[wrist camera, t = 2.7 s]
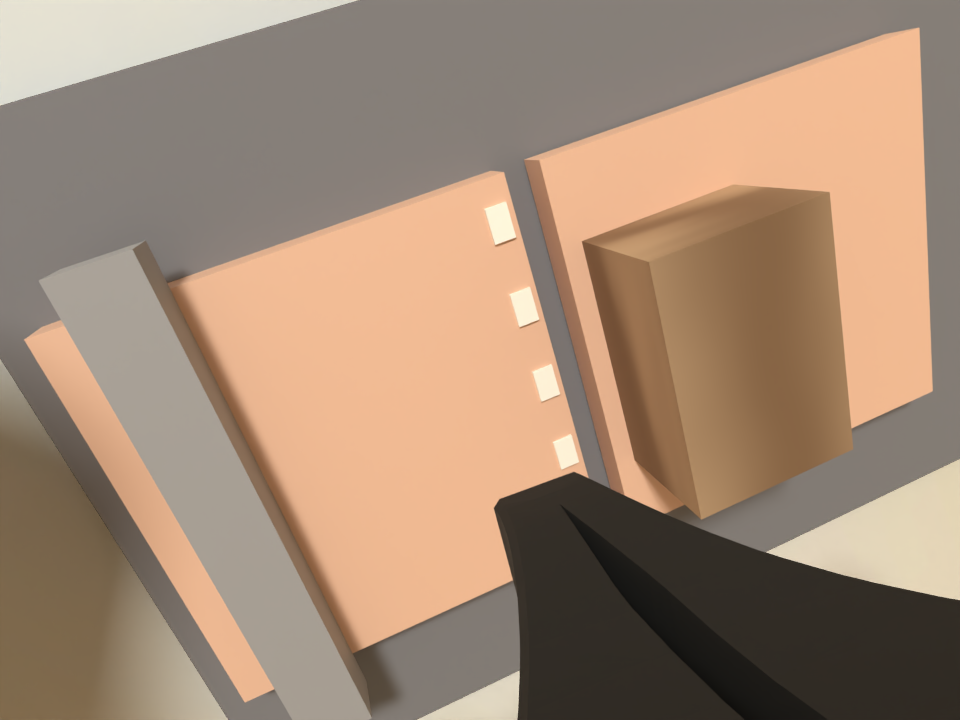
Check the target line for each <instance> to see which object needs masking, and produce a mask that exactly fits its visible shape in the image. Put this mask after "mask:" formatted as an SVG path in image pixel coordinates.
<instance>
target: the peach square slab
mask: <svg viewBox="0 0 960 720" xmlns="http://www.w3.org/2000/svg"><path fill="white" fill-rule="evenodd" d="M524 162H525V166H526V170H527V173H528V177H529V181H530V185H531V189H532V192H533V196H534V200H535V204H536V208H537V211H538V215H539V219H540V223H541V227H542V230H543V234H544V238H545V242H546V246H547V249H548V253H549V257H550V261H551V265H552V268H553V272H554V276H555V280H556V283H557V287H558V291H559V295H560V299H561V302H562V306H563V310H564V314H565V318H566V321H567V325H568V329H569V333H570V337H571V340H572V344H573V348H574V352H575V356H576V359H577V363H578V367H579V371H580V375H581V378H582V382H583V386H584V390H585V393H586V397H587V401H588V405H589V409H590V412H591V416H592V420H593V424H594V428H595V431H596V435H597V439H598V443H599V447H600V450H601V454H602V458H603V462H604V466H605V469H606V473H607V477H608V481H609V485H610V488H611V489H612V490H614V491H616V492H619V493H621V494H623V495H625V496H627V497H629V498H631V499H633V500H636V501H638V502H640V503H642V504H644V505H646V506H649V507H651V508H653V509H655V510H657V511H660V512H662V513H664V514H665V513H668V512H670V511H672V510H674V509H676V508H678V507H681V506H683V505H686V506H687V507H688V508H689V509H690V510H691V511H692V512H694V513H695V514H696V515H697V516H698V517H699V518H700V519H701V520H702V519H704V518H706V517H708V516H710V515H713V514H715V513H717V512H719V511H721V510H723V509H726V508H728V507H730V506H732V505H734V504H736V503H739V502H741V501H743V500H745V499H747V498H749V497H751V496H754V495H756V494H758V493H760V492H762V491H764V490H767V489H769V488H771V487H773V486H775V485H777V484H780V483H782V482H784V481H786V480H788V479H790V478H792V477H795V476H797V475H799V474H801V473H803V472H805V471H808V470H810V469H812V468H814V467H816V466H818V465H821V464H823V463H825V462H827V461H829V460H831V459H834V458H836V457H838V456H840V455H842V454H844V453H846V452H849V451H851V450H853V440H852V429H851V428H854V427H856V426H858V425H860V424H862V423H864V422H867V421H869V420H871V419H873V418H875V417H878V416H880V415H882V414H884V413H886V412H889V411H891V410H893V409H895V408H897V407H900V406H902V405H904V404H906V403H908V402H910V401H913V400H915V399H917V398H919V397H921V396H924V395H926V394H928V393H930V392H932V391H933V384H932V357H931V330H930V302H929V275H928V248H927V221H926V194H925V166H924V139H923V112H922V85H921V58H920V30H919V28H914V29H909V30H904V31H899V32H893V33H888V34H884V35H881V36H878V37H875V38H872V39H869V40H866V41H863V42H861V43H858V44H855V45H852V46H849V47H846V48H843V49H840V50H838V51H835V52H832V53H829V54H826V55H823V56H820V57H818V58H815V59H812V60H809V61H806V62H803V63H800V64H797V65H795V66H792V67H789V68H786V69H783V70H780V71H777V72H774V73H772V74H769V75H766V76H763V77H760V78H757V79H754V80H751V81H749V82H746V83H743V84H740V85H737V86H734V87H731V88H728V89H726V90H723V91H720V92H717V93H714V94H711V95H708V96H705V97H703V98H700V99H697V100H694V101H691V102H688V103H685V104H682V105H680V106H677V107H674V108H671V109H668V110H665V111H662V112H659V113H657V114H654V115H651V116H648V117H645V118H642V119H639V120H636V121H634V122H631V123H628V124H625V125H622V126H619V127H616V128H613V129H611V130H608V131H605V132H602V133H599V134H596V135H593V136H591V137H588V138H585V139H582V140H579V141H576V142H573V143H570V144H568V145H565V146H562V147H559V148H556V149H553V150H550V151H547V152H545V153H542V154H539V155H536V156H533V157H530V158H527V159H524Z"/></svg>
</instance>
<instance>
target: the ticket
mask: <svg viewBox="0 0 960 720" xmlns="http://www.w3.org/2000/svg"><path fill="white" fill-rule="evenodd" d="M39 283H40V284H41V286H42V288H43V290H44V291H45V293H46V295H47V297H48V298H49V300H50V302H51V303H52V305H53V307H54V309H55V310H56V312H57V314H58V316H59V317H60V319H61V320H60V321H57V322H54V323H51V324H48V325H46V326H43V327H41V328H40V329H38V330H37V331H35V332H34V333H33V334H31V335H30V336H29V337H27V338H26V339H24V341H25V342H26V344H27V345H28V347H29V349H30V350H31V352H32V354H33V355H34V357H35V359H36V360H37V362H38V364H39V365H40V367H41V368H42V370H43V372H44V373H45V375H46V377H47V378H48V380H49V382H50V383H51V385H52V387H53V388H54V390H55V391H56V393H57V395H58V396H59V398H60V400H61V401H62V403H63V405H64V406H65V408H66V410H67V411H68V413H69V414H70V416H71V418H72V419H73V421H74V423H75V424H76V426H77V428H78V429H79V431H80V433H81V434H82V436H83V437H84V439H85V441H86V442H87V444H88V446H89V447H90V449H91V451H92V452H93V454H94V455H95V457H96V459H97V460H98V462H99V464H100V465H101V467H102V469H103V470H104V472H105V474H106V475H107V477H108V478H109V480H110V482H111V483H112V485H113V487H114V488H115V490H116V492H117V493H118V495H119V497H120V498H121V500H122V501H123V503H124V505H125V506H126V508H127V510H128V511H129V513H130V515H131V516H132V518H133V520H134V521H135V523H136V524H137V526H138V528H139V529H140V531H141V533H142V534H143V536H144V538H145V539H146V541H147V543H148V544H149V546H150V547H151V549H152V551H153V552H154V554H155V556H156V557H157V559H158V561H159V562H160V564H161V566H162V567H163V569H164V570H165V572H166V574H167V575H168V577H169V579H170V580H171V582H172V584H173V585H174V587H175V589H176V590H177V592H178V593H179V595H180V597H181V598H182V600H183V602H184V603H185V605H186V607H187V608H188V610H189V612H190V613H191V615H192V616H193V618H194V620H195V621H196V623H197V625H198V626H199V628H200V630H201V631H202V633H203V635H204V636H205V638H206V639H207V641H208V643H209V644H210V646H211V648H212V649H213V651H214V653H215V654H216V656H217V658H218V659H219V661H220V662H221V664H222V666H223V667H224V669H225V671H226V672H227V674H228V676H229V677H230V679H231V681H232V682H233V684H234V685H235V687H236V689H237V690H238V692H239V694H240V695H241V697H242V699H243V700H244V702H247V701H249V700H252V699H254V698H256V697H258V696H260V695H263V694H265V693H267V692H269V691H271V690H274V689H275V691H276V693H277V694H278V696H279V698H280V700H281V701H282V703H283V705H284V706H285V708H286V710H287V712H288V713H289V715H290V717H291V719H292V720H369V719H371V718H372V715H371V708H370V701H369V695H368V688H367V681H366V679H365V677H364V675H363V673H362V671H361V669H360V667H359V665H358V663H357V661H356V659H355V657H354V655H353V653H355V652H357V651H359V650H361V649H363V648H366V647H368V646H370V645H372V644H374V643H377V642H379V641H381V640H383V639H385V638H388V637H390V636H392V635H394V634H396V633H398V632H401V631H403V630H405V629H407V628H409V627H412V626H414V625H416V624H418V623H420V622H423V621H425V620H427V619H429V618H431V617H434V616H436V615H438V614H440V613H442V612H445V611H447V610H449V609H451V608H453V607H455V606H458V605H460V604H462V603H464V602H466V601H469V600H471V599H473V598H475V597H477V596H480V595H482V594H484V593H486V592H488V591H491V590H493V589H495V588H497V587H499V586H502V585H504V584H506V583H508V582H510V581H512V580H513V578H512V575H511V571H510V567H509V563H508V560H507V556H506V552H505V548H504V545H503V541H502V537H501V534H500V530H499V526H498V522H497V519H496V515H495V511H494V507H495V505H496V504H497V502H498V500H499V499H501V498H504V497H506V496H509V495H512V494H515V493H517V492H520V491H523V490H525V489H528V488H531V487H534V486H536V485H539V484H542V483H544V482H547V481H550V480H553V479H555V478H558V477H561V476H563V475H566V474H569V473H572V472H576V473H578V474H581V475H583V476H585V477H587V478H588V474H587V471H586V467H585V463H584V460H583V456H582V452H581V449H580V445H579V442H578V438H577V434H576V431H575V427H574V424H573V420H572V416H571V413H570V409H569V405H568V402H567V398H566V395H565V391H564V387H563V384H562V380H561V377H560V373H559V369H558V366H557V362H556V359H555V355H554V351H553V348H552V344H551V340H550V337H549V333H548V330H547V326H546V322H545V319H544V315H543V312H542V308H541V304H540V301H539V297H538V294H537V290H536V286H535V283H534V279H533V275H532V272H531V268H530V265H529V261H528V257H527V254H526V250H525V247H524V243H523V239H522V236H521V232H520V228H519V225H518V221H517V218H516V214H515V210H514V207H513V203H512V200H511V196H510V192H509V189H508V185H507V182H506V178H505V174H504V172H498V171H488V172H485V173H483V174H480V175H477V176H474V177H471V178H468V179H465V180H462V181H460V182H457V183H454V184H451V185H448V186H445V187H442V188H439V189H437V190H434V191H431V192H428V193H425V194H422V195H419V196H416V197H414V198H411V199H408V200H405V201H402V202H399V203H396V204H393V205H391V206H388V207H385V208H382V209H379V210H376V211H373V212H370V213H368V214H365V215H362V216H359V217H356V218H353V219H350V220H347V221H345V222H342V223H339V224H336V225H333V226H330V227H327V228H324V229H322V230H319V231H316V232H313V233H310V234H307V235H304V236H301V237H299V238H296V239H293V240H290V241H287V242H284V243H281V244H278V245H276V246H273V247H270V248H267V249H264V250H261V251H258V252H255V253H253V254H250V255H247V256H244V257H241V258H238V259H235V260H232V261H230V262H227V263H224V264H221V265H218V266H215V267H212V268H209V269H207V270H204V271H201V272H198V273H195V274H192V275H189V276H186V277H184V278H181V279H178V280H175V281H172V282H169V283H167V282H166V280H165V278H164V276H163V274H162V272H161V270H160V268H159V266H158V264H157V262H156V260H155V258H154V256H153V254H152V252H151V250H150V248H149V246H148V244H147V242H146V241H143V242H140V243H137V244H134V245H131V246H128V247H125V248H122V249H119V250H116V251H113V252H110V253H107V254H104V255H101V256H98V257H95V258H92V259H89V260H86V261H83V262H80V263H77V264H74V265H71V266H68V267H65V268H62V269H60V270H58V271H56V272H54V273H52V274H50V275H48V276H47V277H45V278H43V279H41V280H39Z"/></svg>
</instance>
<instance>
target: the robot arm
mask: <svg viewBox="0 0 960 720" xmlns="http://www.w3.org/2000/svg"><path fill="white" fill-rule="evenodd" d="M494 511H495V515H496V519H497V522H498V526H499V530H500V534H501V537H502V541H503V545H504V548H505V552H506V556H507V560H508V563H509V567H510V571H511V575H512V578H513V582H514V586H515V590H516V593H517V597H518V614H519V634H520V684H519V708H518V720H960V600H955V599H949V598H944V597H938V596H934V595H929V594H924V593H920V592H915V591H910V590H906V589H901V588H896V587H891V586H887V585H882V584H877V583H873V582H869V581H865V580H861V579H857V578H853V577H849V576H844V575H841V574H837V573H833V572H830V571H826V570H823V569H819V568H816V567H812V566H809V565H805V564H802V563H798V562H795V561H791V560H788V559H784V558H781V557H778V556H775V555H772V554H769V553H766V552H763V551H760V550H757V549H754V548H751V547H748V546H746V545H743V544H740V543H737V542H735V541H732V540H729V539H726V538H724V537H721V536H718V535H716V534H713V533H710V532H708V531H705V530H703V529H700V528H698V527H695V526H693V525H690V524H688V523H685V522H683V521H681V520H678V519H676V518H673V517H671V516H669V515H667V514H664V513H662V512H660V511H657V510H655V509H653V508H651V507H649V506H646V505H644V504H642V503H640V502H638V501H636V500H633V499H631V498H629V497H627V496H625V495H623V494H621V493H619V492H616V491H614V490H612V489H610V488H608V487H606V486H604V485H602V484H600V483H598V482H596V481H593V480H591V479H589V478H587V477H585V476H583V475H581V474H578V473H576V472H572V473H569V474H566V475H563V476H561V477H558V478H555V479H553V480H550V481H547V482H544V483H542V484H539V485H536V486H534V487H531V488H528V489H525V490H523V491H520V492H517V493H515V494H512V495H509V496H506V497H504V498H501V499H499V500H498V502H497V504H496V505H495V507H494Z"/></svg>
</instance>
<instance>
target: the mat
mask: <svg viewBox="0 0 960 720" xmlns="http://www.w3.org/2000/svg"><path fill="white" fill-rule="evenodd" d="M914 28H919V30H920V58H921V85H922V112H923V139H924V166H925V194H926V221H927V248H928V275H929V302H930V330H931V357H932V384H933V391H932V392H930V393H928V394H926V395H924V396H921V397H919V398H917V399H915V400H913V401H910V402H908V403H906V404H904V405H902V406H900V407H897V408H895V409H893V410H891V411H889V412H886V413H884V414H882V415H880V416H878V417H875V418H873V419H871V420H869V421H867V422H864V423H862V424H860V425H858V426H856V427H854V428H851V429H852V440H853V450H851V451H849V452H846V453H844V454H842V455H840V456H838V457H836V458H834V459H831V460H829V461H827V462H825V463H823V464H821V465H818V466H816V467H814V468H812V469H810V470H808V471H805V472H803V473H801V474H799V475H797V476H795V477H792V478H790V479H788V480H786V481H784V482H782V483H780V484H777V485H775V486H773V487H771V488H769V489H767V490H764V491H762V492H760V493H758V494H756V495H754V496H751V497H749V498H747V499H745V500H743V501H741V502H739V503H736V504H734V505H732V506H730V507H728V508H726V509H723V510H721V511H719V512H717V513H715V514H713V515H710V516H708V517H706V518H704V519H702V520H701V519H700V518H699V517H698V516H697V515H696V514H695V513H694V512H692V511H691V510H690V509H689V508H688V507H687V506H686V505H683V506H681V507H678V508H676V509H674V510H672V511H670V512H668V513H665V514H667V515H669V516H671V517H673V518H676V519H678V520H681V521H683V522H685V523H688V524H690V525H693V526H695V527H698V528H700V529H703V530H705V531H708V532H710V533H713V534H716V535H718V536H721V537H724V538H726V539H729V540H732V541H735V542H737V543H740V544H743V545H746V546H748V547H751V548H754V549H757V550H760V551H763V552H767V551H769V550H771V549H773V548H775V547H777V546H779V545H781V544H783V543H785V542H788V541H790V540H792V539H794V538H796V537H798V536H800V535H802V534H804V533H806V532H808V531H810V530H813V529H815V528H817V527H819V526H821V525H823V524H825V523H827V522H829V521H831V520H833V519H835V518H837V517H840V516H842V515H844V514H846V513H848V512H850V511H852V510H854V509H856V508H858V507H860V506H862V505H865V504H867V503H869V502H871V501H873V500H875V499H877V498H879V497H881V496H883V495H885V494H887V493H890V492H892V491H894V490H896V489H898V488H900V487H902V486H904V485H906V484H908V483H910V482H912V481H915V480H917V479H919V478H921V477H923V476H925V475H927V474H929V473H931V472H933V471H935V470H937V469H939V468H942V467H944V466H946V465H948V464H950V463H952V462H954V461H956V460H958V459H960V0H358V1H355V2H352V3H348V4H345V5H341V6H338V7H334V8H331V9H328V10H324V11H321V12H317V13H314V14H311V15H307V16H304V17H300V18H297V19H294V20H290V21H287V22H283V23H280V24H277V25H273V26H270V27H266V28H263V29H260V30H256V31H253V32H249V33H246V34H243V35H239V36H236V37H232V38H229V39H226V40H222V41H219V42H215V43H212V44H209V45H205V46H202V47H198V48H195V49H192V50H188V51H185V52H181V53H178V54H175V55H171V56H168V57H164V58H161V59H158V60H154V61H151V62H147V63H144V64H141V65H137V66H134V67H130V68H127V69H124V70H120V71H117V72H113V73H110V74H107V75H103V76H100V77H96V78H93V79H90V80H86V81H83V82H79V83H76V84H73V85H69V86H66V87H62V88H59V89H55V90H52V91H49V92H45V93H42V94H38V95H35V96H32V97H28V98H25V99H21V100H18V101H15V102H11V103H8V104H4V105H1V106H0V359H1V360H2V362H3V363H4V365H5V367H6V368H7V370H8V371H9V373H10V375H11V376H12V378H13V379H14V381H15V382H16V384H17V386H18V387H19V389H20V390H21V392H22V394H23V395H24V397H25V398H26V400H27V401H28V403H29V405H30V406H31V408H32V409H33V411H34V413H35V414H36V416H37V417H38V419H39V420H40V422H41V424H42V425H43V427H44V428H45V430H46V432H47V433H48V435H49V436H50V438H51V439H52V441H53V443H54V444H55V446H56V447H57V449H58V451H59V452H60V454H61V455H62V457H63V458H64V460H65V462H66V463H67V465H68V466H69V468H70V470H71V471H72V473H73V474H74V476H75V478H76V479H77V481H78V482H79V484H80V485H81V487H82V489H83V490H84V492H85V493H86V495H87V497H88V498H89V500H90V501H91V503H92V504H93V506H94V508H95V509H96V511H97V512H98V514H99V516H100V517H101V519H102V520H103V522H104V523H105V525H106V527H107V528H108V530H109V531H110V533H111V535H112V536H113V538H114V539H115V541H116V542H117V544H118V546H119V547H120V549H121V550H122V552H123V554H124V555H125V557H126V558H127V560H128V561H129V563H130V565H131V566H132V568H133V569H134V571H135V573H136V574H137V576H138V577H139V579H140V580H141V582H142V584H143V585H144V587H145V588H146V590H147V592H148V593H149V595H150V596H151V598H152V599H153V601H154V603H155V604H156V606H157V607H158V609H159V611H160V612H161V614H162V615H163V617H164V619H165V620H166V622H167V623H168V625H169V626H170V628H171V630H172V631H173V633H174V634H175V636H176V638H177V639H178V641H179V642H180V644H181V645H182V647H183V649H184V650H185V652H186V653H187V655H188V657H189V658H190V660H191V661H192V663H193V664H194V666H195V668H196V669H197V671H198V672H199V674H200V676H201V677H202V679H203V680H204V682H205V683H206V685H207V687H208V688H209V690H210V691H211V693H212V695H213V696H214V698H215V699H216V701H217V702H218V704H219V706H220V707H221V709H222V710H223V712H224V714H225V715H226V717H227V718H228V720H292V719H291V717H290V715H289V713H288V712H287V710H286V708H285V706H284V705H283V703H282V701H281V700H280V698H279V696H278V694H277V693H276V691H275V689H274V690H271V691H269V692H267V693H265V694H263V695H260V696H258V697H256V698H254V699H252V700H249V701H247V702H244V700H243V699H242V697H241V695H240V694H239V692H238V690H237V689H236V687H235V685H234V684H233V682H232V681H231V679H230V677H229V676H228V674H227V672H226V671H225V669H224V667H223V666H222V664H221V662H220V661H219V659H218V658H217V656H216V654H215V653H214V651H213V649H212V648H211V646H210V644H209V643H208V641H207V639H206V638H205V636H204V635H203V633H202V631H201V630H200V628H199V626H198V625H197V623H196V621H195V620H194V618H193V616H192V615H191V613H190V612H189V610H188V608H187V607H186V605H185V603H184V602H183V600H182V598H181V597H180V595H179V593H178V592H177V590H176V589H175V587H174V585H173V584H172V582H171V580H170V579H169V577H168V575H167V574H166V572H165V570H164V569H163V567H162V566H161V564H160V562H159V561H158V559H157V557H156V556H155V554H154V552H153V551H152V549H151V547H150V546H149V544H148V543H147V541H146V539H145V538H144V536H143V534H142V533H141V531H140V529H139V528H138V526H137V524H136V523H135V521H134V520H133V518H132V516H131V515H130V513H129V511H128V510H127V508H126V506H125V505H124V503H123V501H122V500H121V498H120V497H119V495H118V493H117V492H116V490H115V488H114V487H113V485H112V483H111V482H110V480H109V478H108V477H107V475H106V474H105V472H104V470H103V469H102V467H101V465H100V464H99V462H98V460H97V459H96V457H95V455H94V454H93V452H92V451H91V449H90V447H89V446H88V444H87V442H86V441H85V439H84V437H83V436H82V434H81V433H80V431H79V429H78V428H77V426H76V424H75V423H74V421H73V419H72V418H71V416H70V414H69V413H68V411H67V410H66V408H65V406H64V405H63V403H62V401H61V400H60V398H59V396H58V395H57V393H56V391H55V390H54V388H53V387H52V385H51V383H50V382H49V380H48V378H47V377H46V375H45V373H44V372H43V370H42V368H41V367H40V365H39V364H38V362H37V360H36V359H35V357H34V355H33V354H32V352H31V350H30V349H29V347H28V345H27V344H26V342H25V341H24V339H26V338H27V337H29V336H30V335H31V334H33V333H34V332H35V331H37V330H38V329H40V328H41V327H43V326H46V325H48V324H51V323H54V322H57V321H60V320H61V319H60V317H59V316H58V314H57V312H56V310H55V309H54V307H53V305H52V303H51V302H50V300H49V298H48V297H47V295H46V293H45V291H44V290H43V288H42V286H41V284H40V283H39V280H41V279H43V278H45V277H47V276H48V275H50V274H52V273H54V272H56V271H58V270H60V269H62V268H65V267H68V266H71V265H74V264H77V263H80V262H83V261H86V260H89V259H92V258H95V257H98V256H101V255H104V254H107V253H110V252H113V251H116V250H119V249H122V248H125V247H128V246H131V245H134V244H137V243H140V242H143V241H146V242H147V244H148V246H149V248H150V250H151V252H152V254H153V256H154V258H155V260H156V262H157V264H158V266H159V268H160V270H161V272H162V274H163V276H164V278H165V280H166V282H167V283H169V282H172V281H175V280H178V279H181V278H184V277H186V276H189V275H192V274H195V273H198V272H201V271H204V270H207V269H209V268H212V267H215V266H218V265H221V264H224V263H227V262H230V261H232V260H235V259H238V258H241V257H244V256H247V255H250V254H253V253H255V252H258V251H261V250H264V249H267V248H270V247H273V246H276V245H278V244H281V243H284V242H287V241H290V240H293V239H296V238H299V237H301V236H304V235H307V234H310V233H313V232H316V231H319V230H322V229H324V228H327V227H330V226H333V225H336V224H339V223H342V222H345V221H347V220H350V219H353V218H356V217H359V216H362V215H365V214H368V213H370V212H373V211H376V210H379V209H382V208H385V207H388V206H391V205H393V204H396V203H399V202H402V201H405V200H408V199H411V198H414V197H416V196H419V195H422V194H425V193H428V192H431V191H434V190H437V189H439V188H442V187H445V186H448V185H451V184H454V183H457V182H460V181H462V180H465V179H468V178H471V177H474V176H477V175H480V174H483V173H485V172H488V171H498V172H504V174H505V178H506V182H507V185H508V189H509V192H510V196H511V200H512V203H513V207H514V210H515V214H516V218H517V221H518V225H519V228H520V232H521V236H522V239H523V243H524V247H525V250H526V254H527V257H528V261H529V265H530V268H531V272H532V275H533V279H534V283H535V286H536V290H537V294H538V297H539V301H540V304H541V308H542V312H543V315H544V319H545V322H546V326H547V330H548V333H549V337H550V340H551V344H552V348H553V351H554V355H555V359H556V362H557V366H558V369H559V373H560V377H561V380H562V384H563V387H564V391H565V395H566V398H567V402H568V405H569V409H570V413H571V416H572V420H573V424H574V427H575V431H576V434H577V438H578V442H579V445H580V449H581V452H582V456H583V460H584V463H585V467H586V471H587V474H588V478H589V479H591V480H593V481H596V482H598V483H600V484H602V485H604V486H606V487H608V488H610V485H609V481H608V477H607V473H606V469H605V466H604V462H603V458H602V454H601V450H600V447H599V443H598V439H597V435H596V431H595V428H594V424H593V420H592V416H591V412H590V409H589V405H588V401H587V397H586V393H585V390H584V386H583V382H582V378H581V375H580V371H579V367H578V363H577V359H576V356H575V352H574V348H573V344H572V340H571V337H570V333H569V329H568V325H567V321H566V318H565V314H564V310H563V306H562V302H561V299H560V295H559V291H558V287H557V283H556V280H555V276H554V272H553V268H552V265H551V261H550V257H549V253H548V249H547V246H546V242H545V238H544V234H543V230H542V227H541V223H540V219H539V215H538V211H537V208H536V204H535V200H534V196H533V192H532V189H531V185H530V181H529V177H528V173H527V170H526V166H525V162H524V159H527V158H530V157H533V156H536V155H539V154H542V153H545V152H547V151H550V150H553V149H556V148H559V147H562V146H565V145H568V144H570V143H573V142H576V141H579V140H582V139H585V138H588V137H591V136H593V135H596V134H599V133H602V132H605V131H608V130H611V129H613V128H616V127H619V126H622V125H625V124H628V123H631V122H634V121H636V120H639V119H642V118H645V117H648V116H651V115H654V114H657V113H659V112H662V111H665V110H668V109H671V108H674V107H677V106H680V105H682V104H685V103H688V102H691V101H694V100H697V99H700V98H703V97H705V96H708V95H711V94H714V93H717V92H720V91H723V90H726V89H728V88H731V87H734V86H737V85H740V84H743V83H746V82H749V81H751V80H754V79H757V78H760V77H763V76H766V75H769V74H772V73H774V72H777V71H780V70H783V69H786V68H789V67H792V66H795V65H797V64H800V63H803V62H806V61H809V60H812V59H815V58H818V57H820V56H823V55H826V54H829V53H832V52H835V51H838V50H840V49H843V48H846V47H849V46H852V45H855V44H858V43H861V42H863V41H866V40H869V39H872V38H875V37H878V36H881V35H884V34H888V33H893V32H899V31H904V30H909V29H914ZM610 489H611V488H610ZM353 655H354V657H355V659H356V661H357V663H358V665H359V667H360V669H361V671H362V673H363V675H364V677H365V679H366V681H367V688H368V695H369V701H370V708H371V715H372V718H371V719H369V720H417V719H419V718H421V717H423V716H425V715H427V714H429V713H432V712H434V711H436V710H438V709H440V708H442V707H444V706H446V705H448V704H450V703H452V702H454V701H457V700H459V699H461V698H463V697H465V696H467V695H469V694H471V693H473V692H475V691H477V690H479V689H482V688H484V687H486V686H488V685H490V684H492V683H494V682H496V681H498V680H500V679H502V678H504V677H506V676H509V675H511V674H513V673H515V672H517V671H519V670H520V634H519V614H518V597H517V593H516V590H515V586H514V582H513V580H512V581H510V582H508V583H506V584H504V585H502V586H499V587H497V588H495V589H493V590H491V591H488V592H486V593H484V594H482V595H480V596H477V597H475V598H473V599H471V600H469V601H466V602H464V603H462V604H460V605H458V606H455V607H453V608H451V609H449V610H447V611H445V612H442V613H440V614H438V615H436V616H434V617H431V618H429V619H427V620H425V621H423V622H420V623H418V624H416V625H414V626H412V627H409V628H407V629H405V630H403V631H401V632H398V633H396V634H394V635H392V636H390V637H388V638H385V639H383V640H381V641H379V642H377V643H374V644H372V645H370V646H368V647H366V648H363V649H361V650H359V651H357V652H355V653H353Z"/></svg>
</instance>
